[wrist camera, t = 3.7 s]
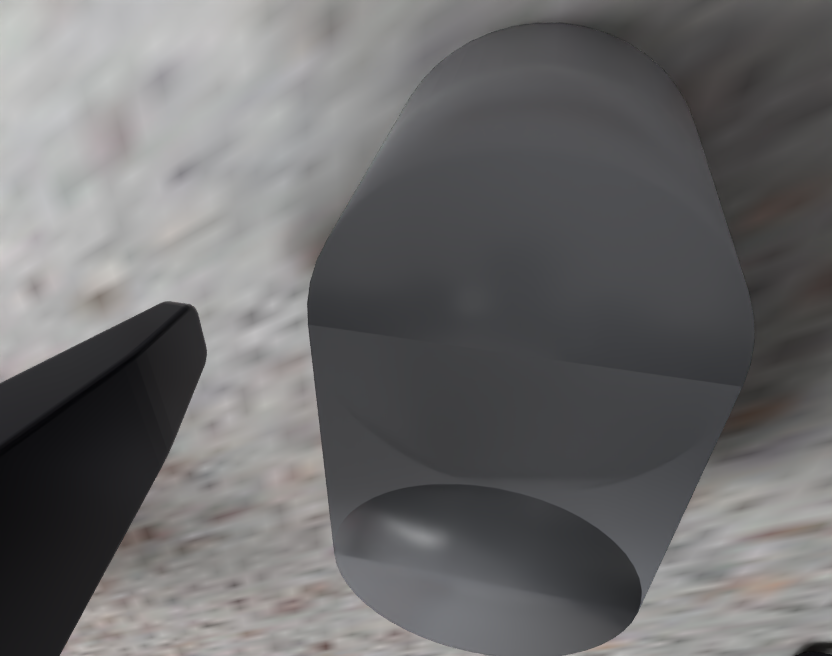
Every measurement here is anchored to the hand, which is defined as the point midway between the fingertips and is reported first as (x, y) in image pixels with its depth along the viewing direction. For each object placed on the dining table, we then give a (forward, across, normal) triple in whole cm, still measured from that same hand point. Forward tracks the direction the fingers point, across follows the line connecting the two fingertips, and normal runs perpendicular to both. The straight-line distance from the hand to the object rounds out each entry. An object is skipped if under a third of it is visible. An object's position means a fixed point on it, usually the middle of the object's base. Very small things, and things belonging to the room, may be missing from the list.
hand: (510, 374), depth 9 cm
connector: (+2, 0, 0) cm, 2 cm away
